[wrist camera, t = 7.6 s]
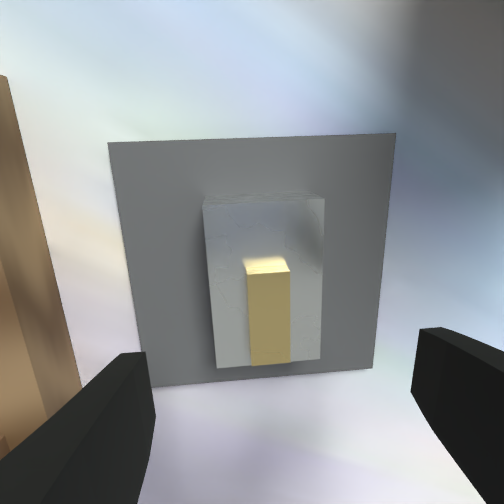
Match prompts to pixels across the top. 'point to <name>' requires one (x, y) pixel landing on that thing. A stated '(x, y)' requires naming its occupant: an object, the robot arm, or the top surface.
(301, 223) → the lever cap
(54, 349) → the board with knob
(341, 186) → the gray switch plate
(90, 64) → the top surface
